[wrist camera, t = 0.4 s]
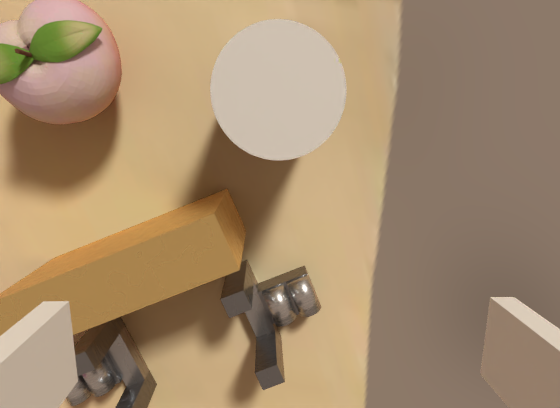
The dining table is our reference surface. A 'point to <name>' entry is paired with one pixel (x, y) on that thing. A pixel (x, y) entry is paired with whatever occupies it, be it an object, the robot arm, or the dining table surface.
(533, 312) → the robot arm
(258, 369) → the pair of grey pieces
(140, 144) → the dining table surface
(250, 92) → the cup
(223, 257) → the link bar
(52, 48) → the decorative fruit
